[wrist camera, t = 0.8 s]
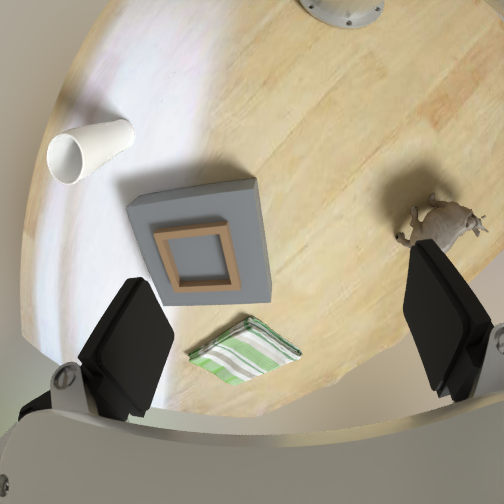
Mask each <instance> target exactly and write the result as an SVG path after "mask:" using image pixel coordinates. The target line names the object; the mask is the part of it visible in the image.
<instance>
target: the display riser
mask: <svg viewBox="0 0 504 504" xmlns="http://www.w3.org/2000/svg"><path fill="white" fill-rule="evenodd" d="M126 210H127V213H128V216H129V219H130V222H131V225H132V228H133V230H134V233H135V236H136V239H137V241H138V244H139V247H140V250H141V252H142V255H143V257H144V260H145V263H146V265H147V268H148V270H149V273H150V275H151V277H152V280H153V282H154V285H155V287H156V289H157V292H158V294H159V296H160V299H161V301H162V303H163V306H194V305H228V304H251V303H270V302H271V292H272V281H271V273H270V266H269V259H268V252H267V245H266V238H265V231H264V225H263V218H262V211H261V204H260V198H259V191H258V185H257V178H252V179H243V180H235V181H227V182H220V183H213V184H206V185H199V186H193V187H186V188H180V189H174V190H168V191H163V192H157V193H152V194H146V195H141V196H139V197H137V198H136V199H135V200H134V201H133V202H132V203H131V204H129V205H128V206H127V207H126Z"/></svg>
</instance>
